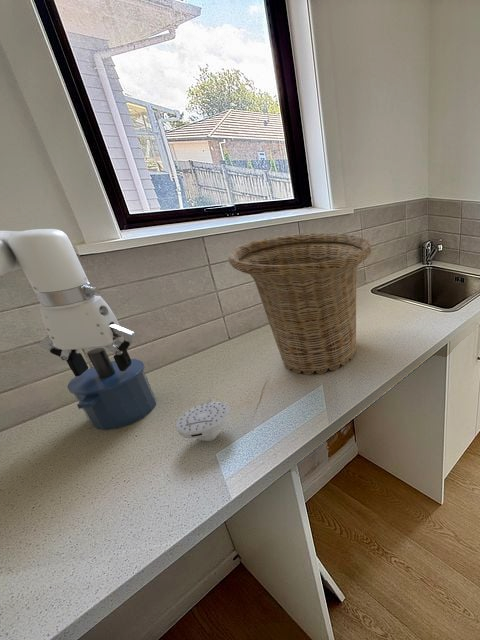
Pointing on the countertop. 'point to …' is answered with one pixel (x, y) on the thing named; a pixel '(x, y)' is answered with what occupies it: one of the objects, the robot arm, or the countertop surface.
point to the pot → (119, 404)
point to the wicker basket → (307, 294)
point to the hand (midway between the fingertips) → (104, 369)
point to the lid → (103, 374)
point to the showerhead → (204, 421)
